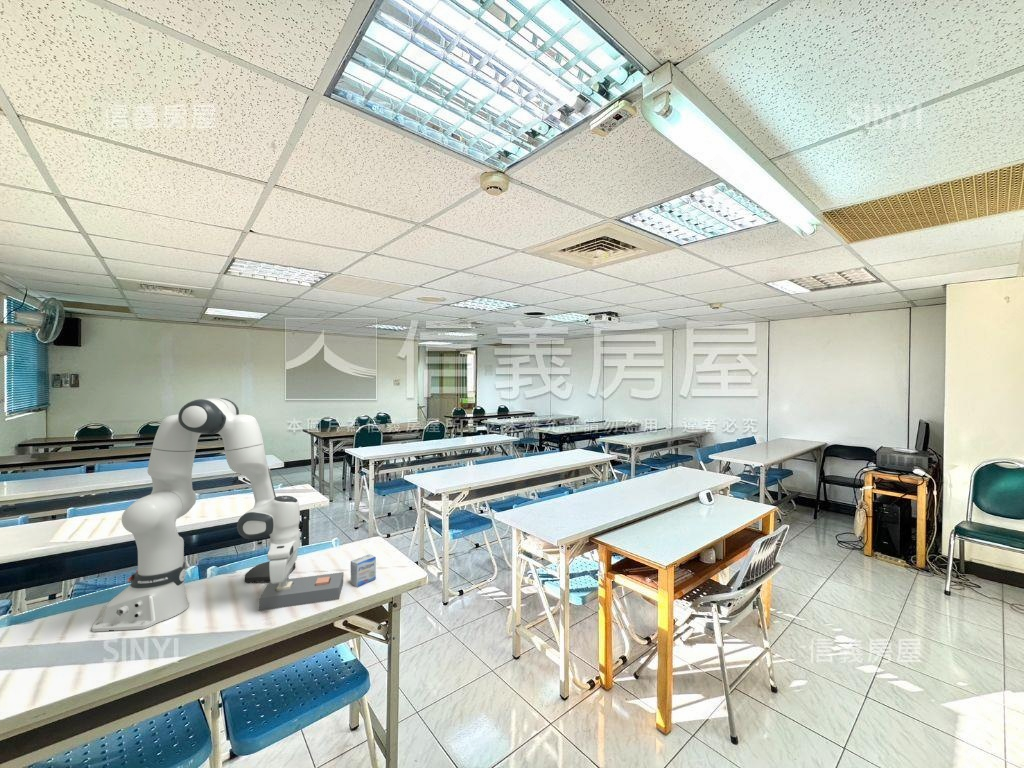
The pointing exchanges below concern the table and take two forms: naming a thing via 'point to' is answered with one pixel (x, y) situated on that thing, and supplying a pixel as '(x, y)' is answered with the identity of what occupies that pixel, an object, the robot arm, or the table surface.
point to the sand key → (284, 586)
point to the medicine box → (363, 570)
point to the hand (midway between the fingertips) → (284, 584)
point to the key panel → (301, 592)
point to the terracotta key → (323, 581)
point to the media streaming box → (260, 573)
